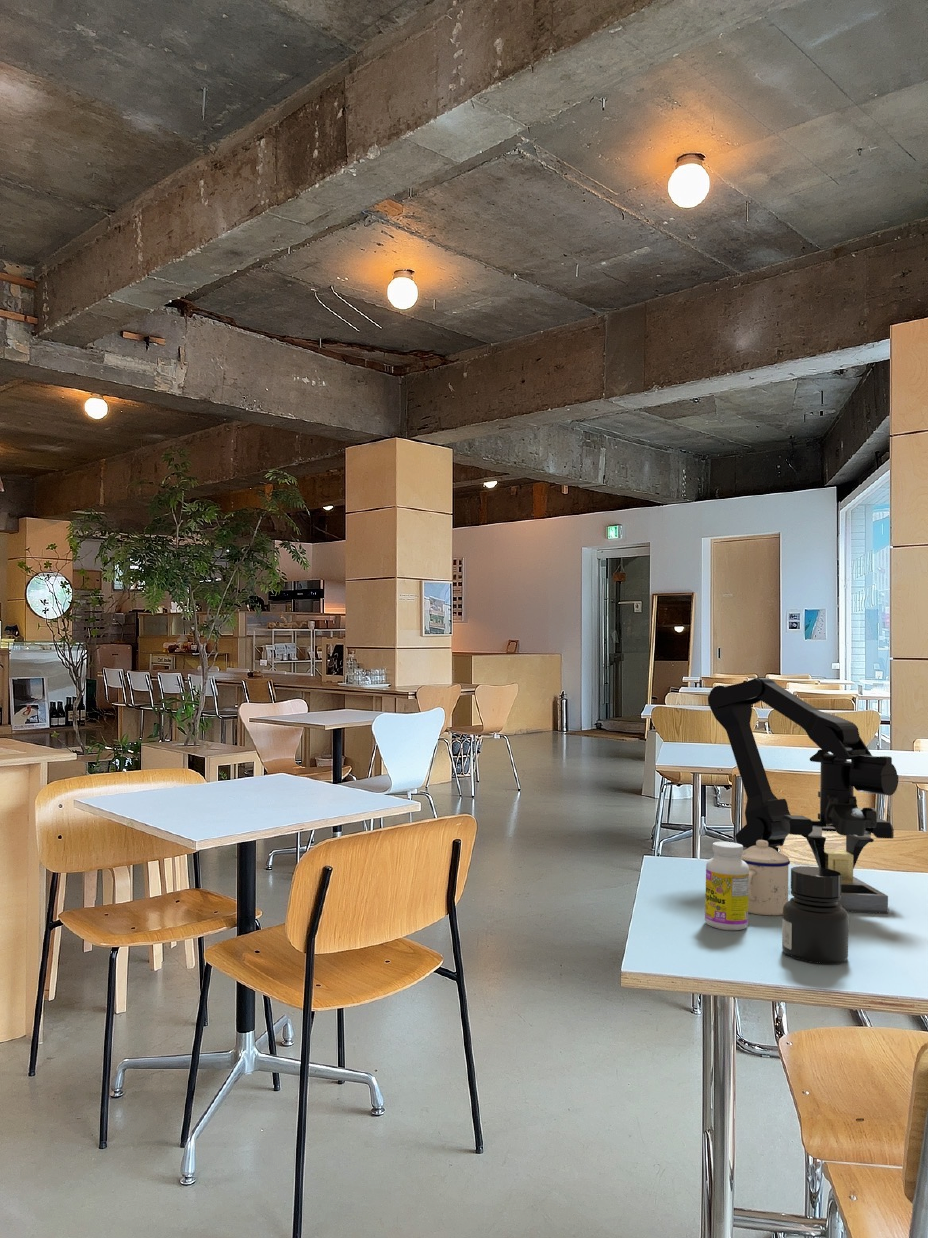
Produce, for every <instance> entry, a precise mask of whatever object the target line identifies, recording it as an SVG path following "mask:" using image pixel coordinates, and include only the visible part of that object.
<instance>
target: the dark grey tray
mask: <svg viewBox="0 0 928 1238" xmlns="http://www.w3.org/2000/svg"><path fill="white" fill-rule="evenodd" d="M840 896H841V899H840V900H839V901H837V902H838V903H840V904H841V906H842V907H843V908H844V909H845V910H846V911H847V913H858V914H860V913H861V914H862V913H863V914H883V915H885V914H887V915H888V914H889V895H888V894H885V893H884V892H882V891H880V890H878V889H876V888H874V887H873V886H871V885H869V884H867V883H866V882H864V881H862V880H861V879H859V878H857V877H856V876H854V875H853V883H846V882H841V895H840Z"/></svg>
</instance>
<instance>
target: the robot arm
mask: <svg viewBox="0 0 928 1238" xmlns="http://www.w3.org/2000/svg"><path fill="white" fill-rule="evenodd" d="M707 702H708V706H709V708H710V710H711V713H712V715H713V717H714V718H715V720H716V721H717V722H718V723H719V724H720V725H721V727H723V729H724V730H725V732H726V734H727V738H728V742H729V744H730V747H731V751H732V754H733V757H734V761H735V763H736V767H737V769H738V772H739V776H740V779H741V782H742V786H743V788H744V792H745V795H746V805H745V809H744V816H745V823H746V824H745V825H744V826H742V828H741V829H739V830H738V832H737V833H736V834H735V836H734V837H735V840H736V843H738V844H741V845H743V850H746V849H747V848H749V847H751V846H756V841H757V840H766V841H768V847H771V848H773V849H775V850H776V851H777V852H779V847H783V846H784V843H785V841H786V838H787V837H788V835H794V836H802V837H803V838H805V839H806V841H807V843H808V845H809V846H810V849H811V852H812V853H813V856H814V858H815V861H816V864H817V867H820V868H825V852H824V849H825V843H826V840H827V838H826V836H825V837H824V836H823V832H836V833H837V834H838V835H840V836H845V851H847V852H849V853H851V854H853V870H855V867H856V864H857V862H858V860H859V857H860V854H861V852H862V851H863V849H864V848H865V847H866V846H867V845H868V844H869V843H874V841H875V839H874V838H872V837H871V835H873V836H875V838H876V839H894V838H895V837H894V836H895V835H894V833H895V832H894V826H893V824H892V823H891V822H889V821H888V820H884V819H881V818H878V816H877V815H878V814H877V813H878V812H877V811H876V809H875V808H874V807H863V808H858V803H857V802H858V801H857V796H855V795H854V791H857V792H860V793H868V794H875V795H883V796H887V797H888V796H892V795H894V794H895V793H896V791H897V789H898V786H899V774H898V772H897V768H896V766H895V765H894V764H893V758H892V756H885V755H884V756H874V755H872V753H871V751H870V750H869V748H868V747H867V746H866V744H865V742H864V741H863V739H862V738H861V736H860V731H859V728H858V726H857V725H856V724H855V723H854V722H852V721H850V720H848V719H845V718H843V717H840V716H838V715H835V714H830V713H826V712H823V711H821V710H819V709H818V708H816V707H814V706H812V705H811V704H810V703H807V701H805V700H803V699H802V698H800V697H798V696H796V695H795V694H794V693H792V692H790V691H788V690H787V689H785V688H784V687H782V686H780V685H779V684H777V683H776V682H775V681H774V680H773V679H771V678H769V677H768V678H767V677H754V678H753V679H749V680H747V681H743V682H740V683H735V684H731V685H717V686H714V687H713V688H712V689H711V690H710V692H709V695H708V696H707ZM760 702H762V703H765V704H766V705H767V706H769V707H771V708H772V709H773V710H774V711H776V712H778V713H779V714H781V715H782V716H783V717H786V718H787V719H788V720H790V721H792V722H793V723H795V724H796V725H798V726H799V727H801V728H802V730H804V731H805V733H806V734H807V736H808V738H809V739H810V740H811V741H812V742H813V743H815V744H816V746H817V747H819V749H818V750H817V752H816V753H815V754H813V755H812V756H811V757H810V758H809V761H810V762H813V763H820V776H819V777H820V780H819V781H820V782H819V784H820V787H819V788H820V790H819V791H817V797H818V798H819V813H817V820H812V819H811V818H809V817H806V816H804V815H799V814H798V815H797V814H796V815H795V814H794V815H793V814H791V812H790V811H789V805H788V802H787V800H786V798H778V797H776V795H775V794H774V793H773V791H772V789H771V785H770V782H769V779H768V776H767V773H766V771H765V767H764V764H763V760H762V758H761V755H760V752H759V749H758V745H757V743H756V739H755V736H754V733H753V730H752V728H751V719H752V714H753V707H752V706H753V705H756V704H758V703H760ZM854 789H855V790H854Z"/></svg>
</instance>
